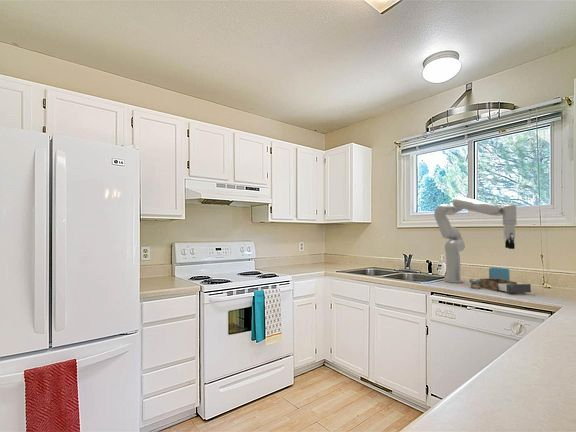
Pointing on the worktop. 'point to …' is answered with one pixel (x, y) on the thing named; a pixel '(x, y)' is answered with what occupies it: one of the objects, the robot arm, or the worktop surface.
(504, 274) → the data package
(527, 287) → the tray
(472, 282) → the disc
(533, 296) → the worktop surface
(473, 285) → the stand
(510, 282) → the dock
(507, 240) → the robot arm
